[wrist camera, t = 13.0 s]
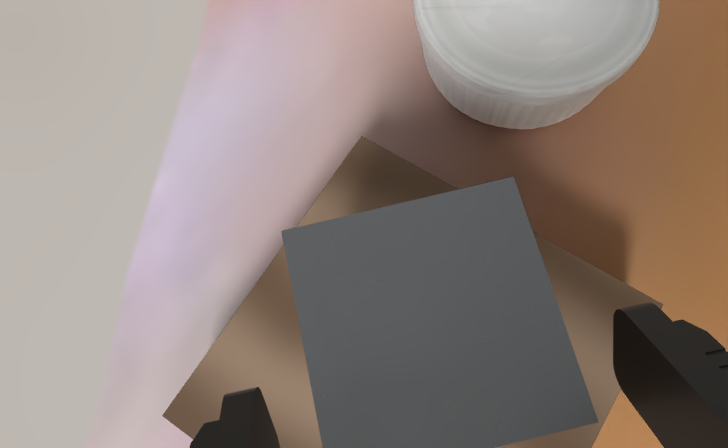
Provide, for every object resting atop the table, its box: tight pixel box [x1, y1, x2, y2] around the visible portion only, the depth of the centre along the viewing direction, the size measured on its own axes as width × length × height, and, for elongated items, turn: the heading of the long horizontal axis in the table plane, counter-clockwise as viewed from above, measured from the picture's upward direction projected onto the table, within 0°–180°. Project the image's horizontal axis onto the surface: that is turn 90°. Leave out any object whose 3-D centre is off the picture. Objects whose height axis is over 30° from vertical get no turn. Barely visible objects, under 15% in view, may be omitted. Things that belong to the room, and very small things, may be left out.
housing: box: [282, 177, 598, 448], centre depth 17 cm, size 6×6×10 cm
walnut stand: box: [162, 136, 663, 448], centre depth 24 cm, size 14×14×4 cm
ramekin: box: [413, 0, 659, 130], centre depth 28 cm, size 11×11×5 cm
